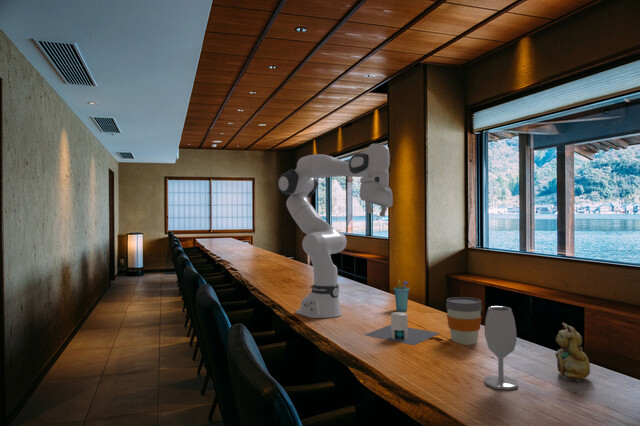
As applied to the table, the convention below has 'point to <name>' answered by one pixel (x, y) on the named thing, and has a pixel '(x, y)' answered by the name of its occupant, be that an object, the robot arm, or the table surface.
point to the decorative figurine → (571, 355)
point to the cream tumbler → (399, 324)
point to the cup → (401, 297)
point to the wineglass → (500, 343)
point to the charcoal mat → (413, 336)
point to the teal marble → (399, 334)
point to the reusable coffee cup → (464, 319)
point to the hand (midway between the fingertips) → (376, 214)
